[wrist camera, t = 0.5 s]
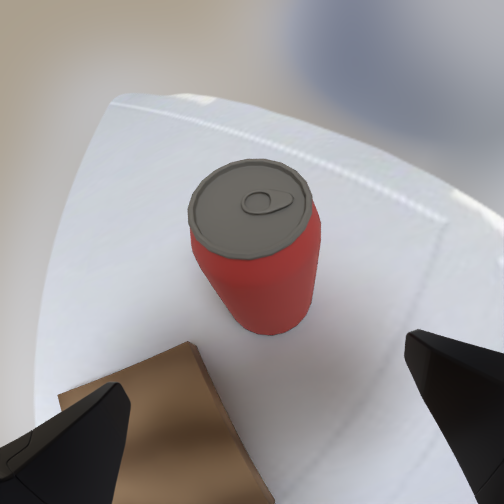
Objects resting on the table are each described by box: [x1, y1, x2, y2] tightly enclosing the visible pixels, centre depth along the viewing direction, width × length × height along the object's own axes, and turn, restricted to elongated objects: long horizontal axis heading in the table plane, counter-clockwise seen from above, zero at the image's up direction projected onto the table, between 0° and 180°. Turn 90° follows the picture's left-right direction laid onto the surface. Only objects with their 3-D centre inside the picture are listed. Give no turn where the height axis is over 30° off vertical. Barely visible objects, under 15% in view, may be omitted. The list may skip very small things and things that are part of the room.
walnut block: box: [58, 341, 275, 504], centre depth 17 cm, size 14×14×2 cm
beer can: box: [188, 159, 321, 335], centre depth 18 cm, size 7×7×12 cm
